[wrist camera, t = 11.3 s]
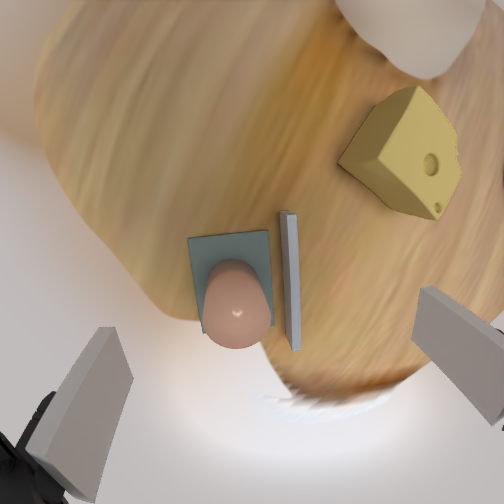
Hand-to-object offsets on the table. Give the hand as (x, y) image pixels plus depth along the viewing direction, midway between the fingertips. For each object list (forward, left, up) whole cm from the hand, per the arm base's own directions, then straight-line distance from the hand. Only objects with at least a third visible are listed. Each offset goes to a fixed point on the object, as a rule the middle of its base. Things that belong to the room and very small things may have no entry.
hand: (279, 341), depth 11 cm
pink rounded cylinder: (+5, -2, -22) cm, 22 cm away
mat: (+6, -2, -22) cm, 23 cm away
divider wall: (+6, +5, -22) cm, 23 cm away
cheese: (-8, +18, -23) cm, 30 cm away
